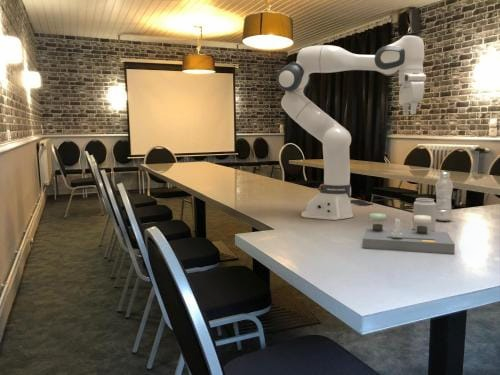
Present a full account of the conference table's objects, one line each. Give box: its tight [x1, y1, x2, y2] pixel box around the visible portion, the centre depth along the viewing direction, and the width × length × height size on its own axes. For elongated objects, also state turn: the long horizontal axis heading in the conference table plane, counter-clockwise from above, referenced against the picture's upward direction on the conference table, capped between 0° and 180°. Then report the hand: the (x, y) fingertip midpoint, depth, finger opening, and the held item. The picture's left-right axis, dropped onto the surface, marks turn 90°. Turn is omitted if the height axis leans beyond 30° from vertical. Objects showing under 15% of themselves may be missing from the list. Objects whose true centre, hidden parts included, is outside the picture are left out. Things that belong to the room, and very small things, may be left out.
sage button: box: [369, 212, 387, 222], centre depth 140 cm, size 5×5×2 cm
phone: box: [350, 199, 374, 207], centre depth 216 cm, size 8×1×15 cm
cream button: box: [414, 215, 431, 223], centre depth 136 cm, size 5×5×2 cm
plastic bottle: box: [434, 171, 454, 222], centre depth 168 cm, size 6×7×20 cm
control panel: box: [362, 223, 456, 255], centre depth 134 cm, size 26×16×5 cm, turn 72°
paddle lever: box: [392, 218, 403, 238], centre depth 130 cm, size 3×4×5 cm
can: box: [412, 197, 436, 232], centre depth 152 cm, size 8×8×12 cm
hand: (409, 114), depth 163 cm, fingers open, 8 cm apart
